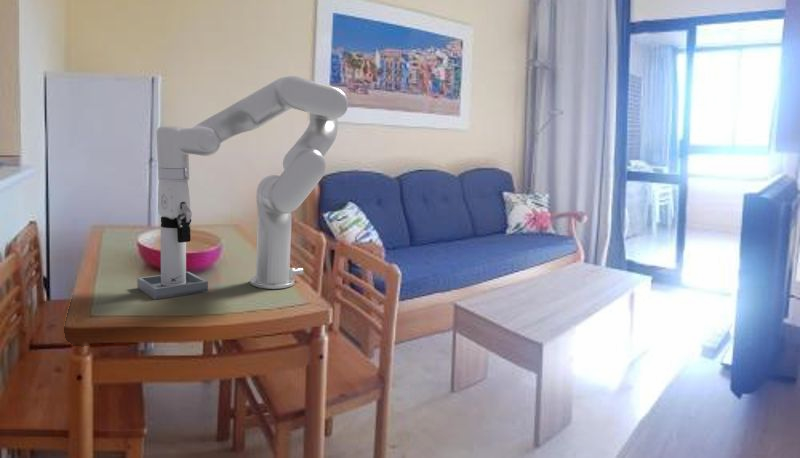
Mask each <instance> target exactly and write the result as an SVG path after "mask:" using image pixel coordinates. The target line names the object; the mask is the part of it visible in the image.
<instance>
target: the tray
mask: <svg viewBox="0 0 800 458" xmlns="http://www.w3.org/2000/svg"><path fill="white" fill-rule="evenodd" d="M136 281H137V289H138V290H140V291H142V293H144V294H146V295H148V297H151V298H152V299H154V300H161V299H163V300H164V299H167V298H174V297H181V296H189V295H194V294H200V293H208V291H209V289H208V287H209V286H208V285H209V281H208V280H206V279H204V278H202V277H199V276H198V275H196V274H194V273H193V272H190V271H186V284H181V285H174V286H167V287H161V274H160V275H159V274H158V275H151V276H150V275H149V276H141V277H137V280H136Z"/></svg>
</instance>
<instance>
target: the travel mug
mask: <svg viewBox="0 0 800 458" xmlns="http://www.w3.org/2000/svg"><path fill="white" fill-rule="evenodd" d="M182 220H183V219H182ZM182 220H181V222H182ZM177 227H179V226H178V223H177V220H176V218H175V219H173V220H172V219H169V218H166V217H162V216H161V217H160V275H161V287H167V286H174V285H181V284H186V272H187V242H182V243H179V242H178V236H177Z"/></svg>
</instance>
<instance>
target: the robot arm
mask: <svg viewBox="0 0 800 458" xmlns="http://www.w3.org/2000/svg"><path fill="white" fill-rule="evenodd" d="M348 108H349V99H348V97H347V94H346V93H345V92H344V91H343V90H341V89H339V88H338V87H336V86H331V85H327V84H324V83H320V82H316V81H313V80H310V79H308V78H307V79H306V78H303V77H299V76H296V75H291V76H283V77H280V78H277V79H276V80H274V81H272V82H271V83H269V84H267V85H265V86H263V87H261V88H260V89H258V90H256V91H254V92H253V93H251V94H249V95H248V96H246V97H243V98H242V99H240V100H239V101H236V102H235V103H232V104H231V105H230V106H228V107H226V108H225V109H223V110H221V111H219V112H217V113H215V114H213V115H211V116H210V117H208V118H206V119H204V120H202V121H201V122H199V123H198V124H196V125H194V126H193V127H191V128H190V127H188V128H187V127H183V126H174V125H173V126H172V125H171V126H170V125H167V126H164V125H163V126H162V125H161V126H159V127H158V128H157V130H156V151H157V153H156V154H157V155H156V156H157V177H158V188H157V191H158V192H157V212H158V215H160V216H161V217H166V218H169V219H172V220H173V219H175V218H176V220H177V223H178V226H179V227H177V236H178V242H179V243H182V242H186V243H188V242H191V226H192V225H191V223H192V215H193V212H192V211H191V200H190V199H191V198H190V189H189V188H190V187H189V182H188V181H190V164H189V163H190V157H189V155H195V156H200V157H201V156H203V157H207V156H212V155H214V154H215V153H217V152H218V151H219V149H220V147H221V143H224V142H225V141H227V140H230V139H231V138H233V137H235V136H237V135H240V134H244V133H247V132H251V131H253V130H255V129H259V128H260V127H262V126H264V125H266V124H267V123H269V122H270V121H272V120H274V119H275V118H277V117H279V116H280V115H282V114H284V113H285V112H287V111H289V110H291V109H294V110H298V111H301V112H305V113H309V118H310V119H309V123H308V126H307V128H306V129H305V131H304V132H303V134H302V135H301V136H300V137H299V139H297V140H296V142H295V144H294V145H293V146H292V147H291V148H290V149H289V150H288V151H287V153H286V154H285V155H284V158H283V161H282V167H283V172H282V173H281V174H280V175H277V174H271V175H267V176H266V177H264V178H262V179H261V181H260V182H259V183H258V185H257V188H256V208H257V209H256V210H257V212H256V213H257V232H256V233H257V235H256V239H257V240H256V266H255V276H252V277H250V280H249V281H250V282H249V283H250V285H252V286H253V287H255V288H260V289H267V290H278V289H279V290H280V289H286V288H290V287H292V286H293V285H295V278H294V277H295V275H297V276H298V275H299V276H300V275H303V273H304V268H303V267H296V268H295V267H291V243H292V241H291V240H292V212H294V211H296V210H297V209H298V208H300V206H301V205H302V204H303V202H305V200H306V199H307V198H308V197H309V195H310V194H311V192H313V190H314V189H315V188H316V186H317V185H318V184H319V182H320V181H321V180H322V179H323V176H324V175H325V172H326V166H327V165H326V159H325V157H324V156H325V155H326V153H328V151H329V150H330V148H331V147H332V145H333V144H334V142H335V140H336V138H337V135H338V129H339V128H338V127H339V126H338V123H339V122H338V119H339V118H341V117H343V116H344V115H345V114H346V112H347V111H348ZM182 219H183V220H182ZM181 220H182V222H181Z"/></svg>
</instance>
